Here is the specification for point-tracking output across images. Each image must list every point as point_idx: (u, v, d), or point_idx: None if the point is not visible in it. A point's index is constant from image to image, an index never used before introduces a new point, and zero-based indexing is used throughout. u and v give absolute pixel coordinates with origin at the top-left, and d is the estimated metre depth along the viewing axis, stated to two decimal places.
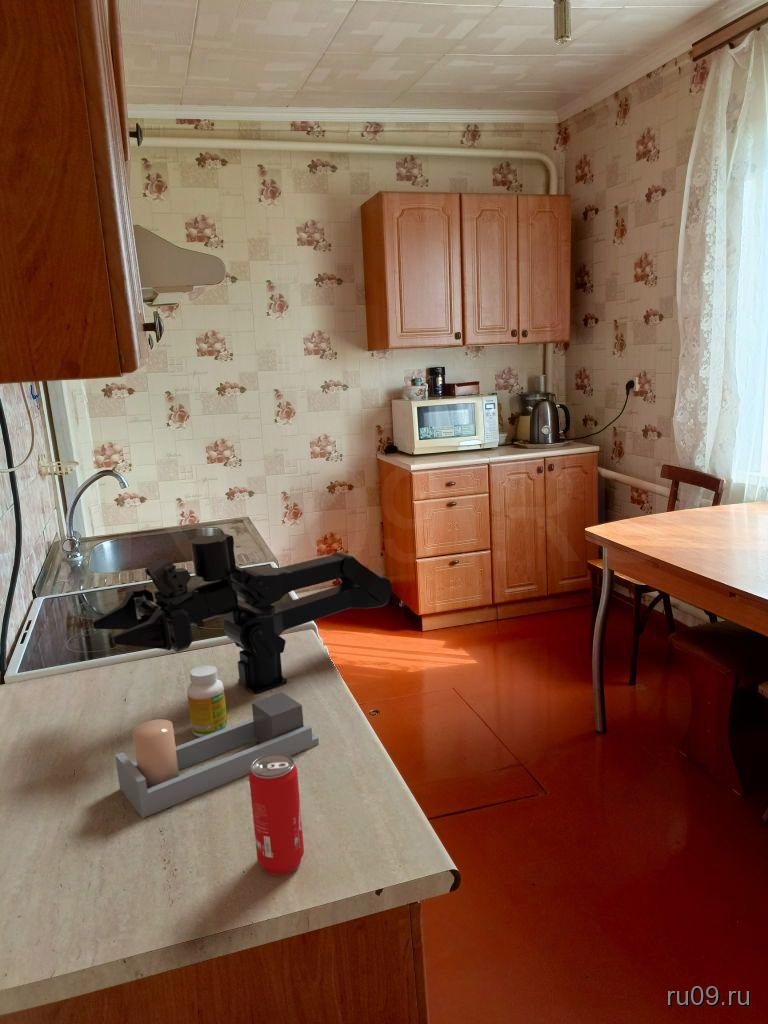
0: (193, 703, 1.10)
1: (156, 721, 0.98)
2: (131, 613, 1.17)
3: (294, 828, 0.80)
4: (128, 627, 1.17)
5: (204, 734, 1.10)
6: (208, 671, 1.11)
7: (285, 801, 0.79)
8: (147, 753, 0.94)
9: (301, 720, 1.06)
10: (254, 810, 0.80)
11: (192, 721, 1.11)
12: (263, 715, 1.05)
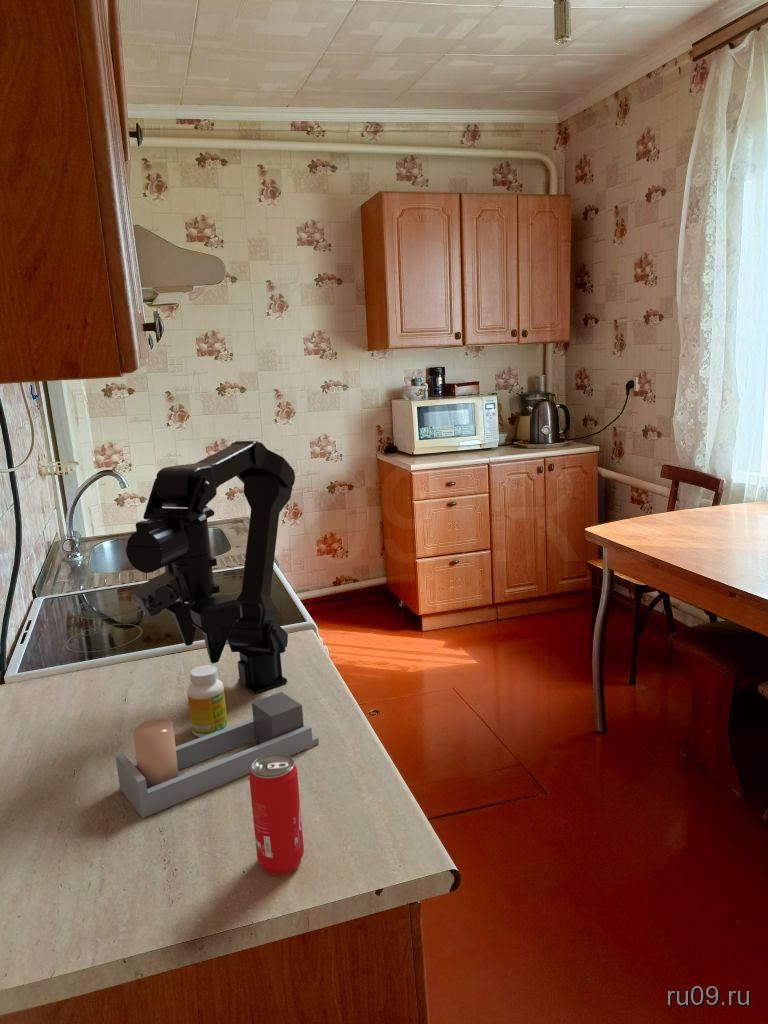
0: (193, 703, 1.10)
1: (156, 721, 0.98)
2: (183, 606, 1.13)
3: (294, 828, 0.80)
4: None
5: (204, 734, 1.10)
6: (208, 671, 1.11)
7: (285, 801, 0.79)
8: (147, 752, 0.94)
9: (301, 720, 1.06)
10: (254, 810, 0.80)
11: (192, 721, 1.11)
12: (263, 715, 1.05)
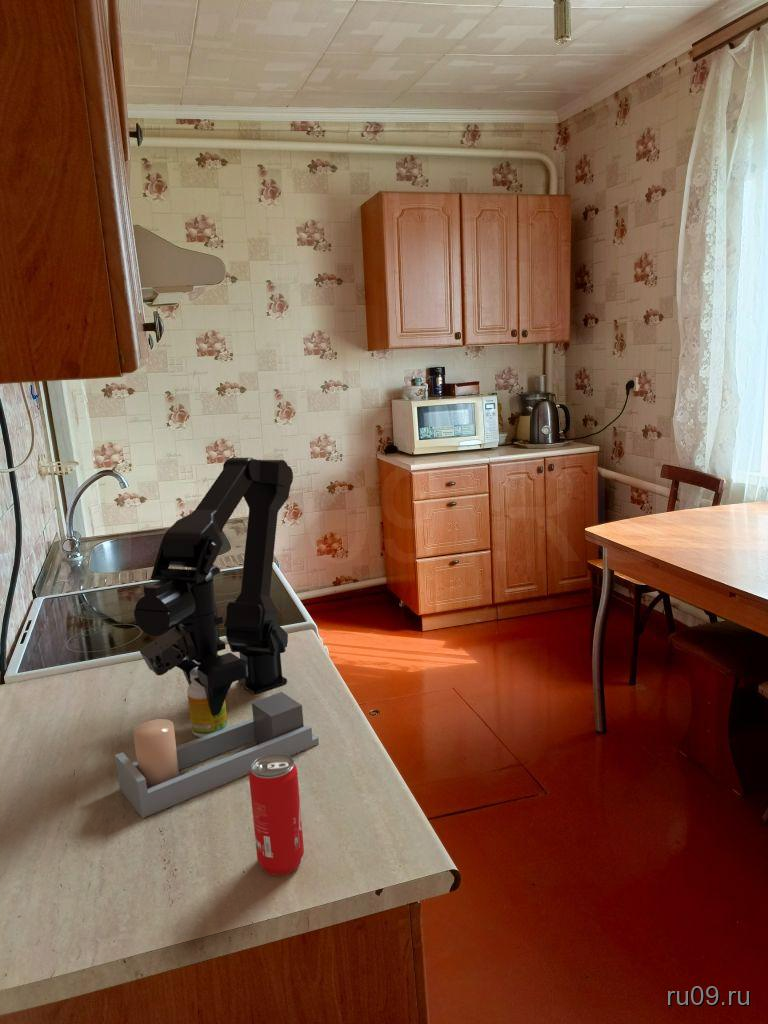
0: (192, 703, 1.10)
1: (157, 720, 0.98)
2: (194, 664, 1.14)
3: (294, 828, 0.80)
4: None
5: (204, 734, 1.10)
6: None
7: (285, 801, 0.79)
8: (148, 753, 0.94)
9: (301, 720, 1.06)
10: (254, 810, 0.80)
11: (192, 721, 1.11)
12: (263, 715, 1.05)
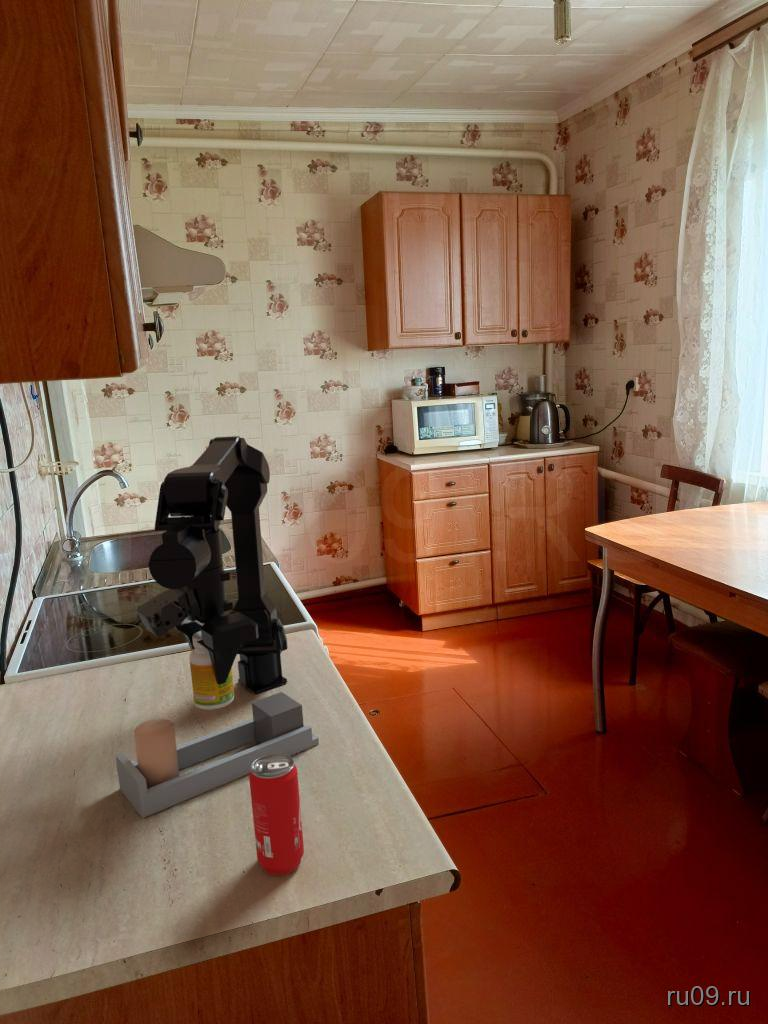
0: (195, 671, 0.98)
1: (157, 720, 0.98)
2: (198, 627, 1.02)
3: (294, 828, 0.80)
4: None
5: (208, 706, 0.98)
6: None
7: (285, 801, 0.79)
8: (149, 752, 0.94)
9: (301, 720, 1.06)
10: (254, 810, 0.80)
11: (195, 691, 0.99)
12: (263, 715, 1.05)
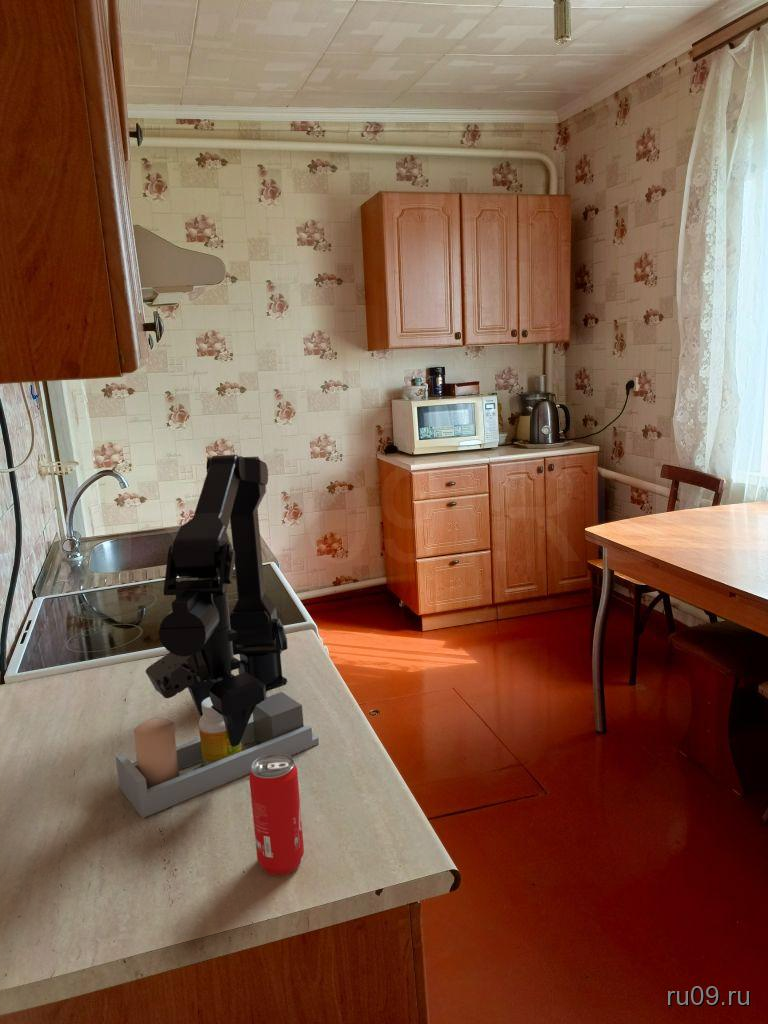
0: (205, 738, 1.00)
1: (156, 720, 0.98)
2: None
3: (294, 828, 0.80)
4: None
5: None
6: None
7: (285, 801, 0.79)
8: (149, 751, 0.94)
9: (301, 720, 1.06)
10: (254, 810, 0.80)
11: (204, 757, 1.01)
12: (263, 715, 1.05)
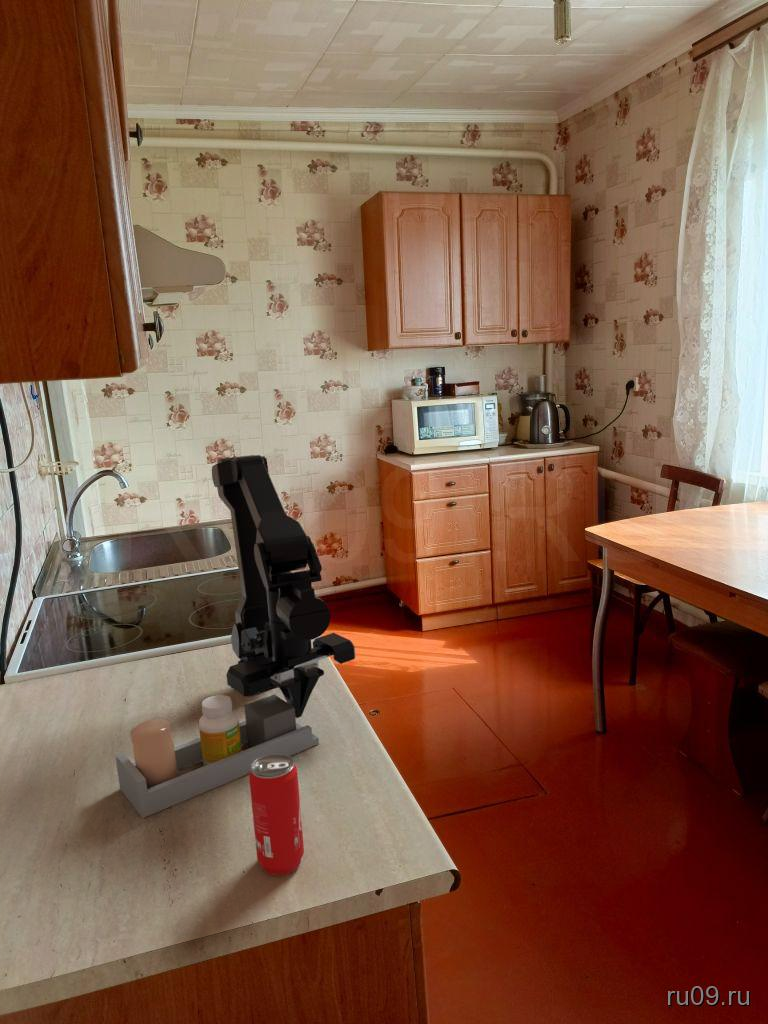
0: (205, 738, 1.00)
1: (151, 721, 0.97)
2: (297, 676, 1.08)
3: (294, 828, 0.80)
4: (305, 687, 1.07)
5: None
6: (221, 702, 1.00)
7: (285, 801, 0.79)
8: (149, 753, 0.94)
9: (294, 723, 1.06)
10: (254, 810, 0.80)
11: (204, 757, 1.01)
12: (255, 718, 1.04)
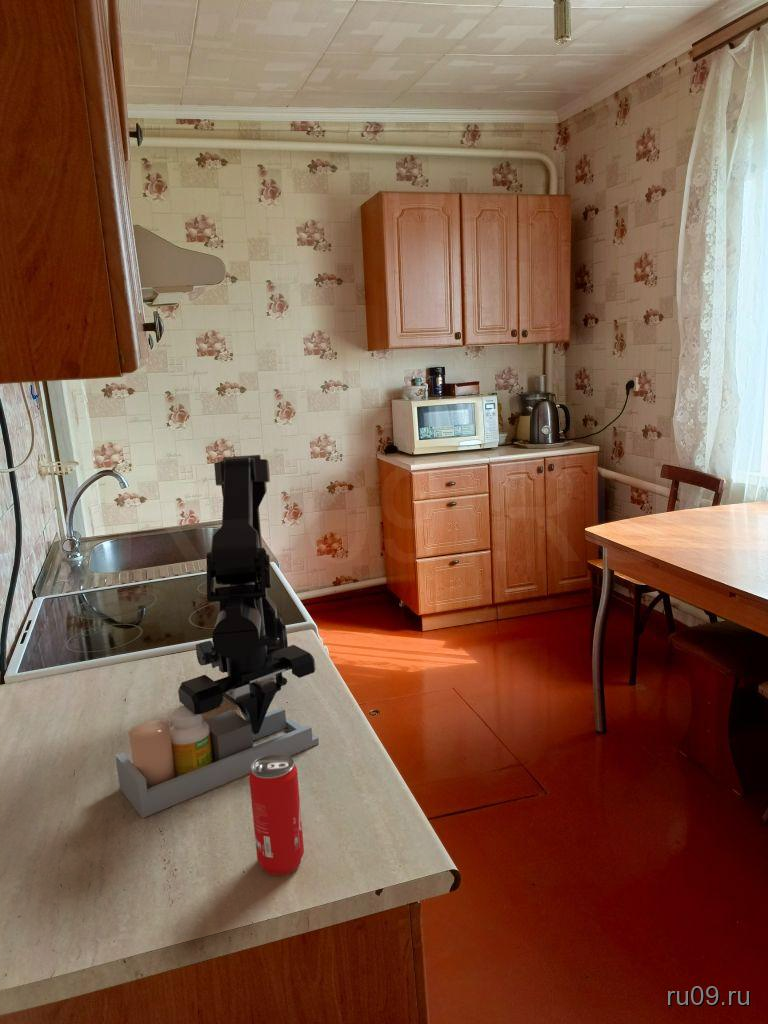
0: (174, 749, 0.97)
1: (149, 722, 0.97)
2: (254, 691, 1.04)
3: (294, 828, 0.80)
4: (261, 702, 1.03)
5: None
6: (191, 712, 0.98)
7: (285, 801, 0.79)
8: (147, 754, 0.93)
9: (250, 740, 1.02)
10: (254, 810, 0.80)
11: None
12: (210, 735, 1.00)
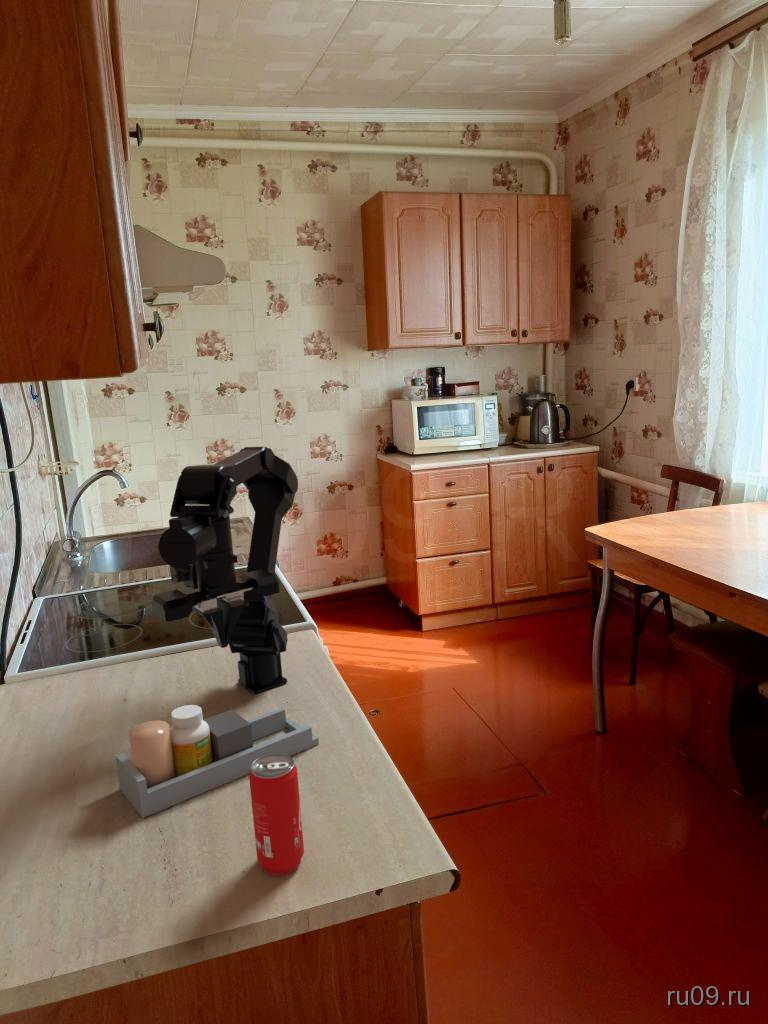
0: (174, 749, 0.97)
1: (149, 722, 0.97)
2: (223, 608, 1.13)
3: (294, 828, 0.80)
4: (229, 617, 1.11)
5: None
6: (191, 712, 0.98)
7: (285, 801, 0.79)
8: (147, 754, 0.93)
9: (250, 740, 1.02)
10: (254, 810, 0.80)
11: None
12: (210, 735, 1.00)
